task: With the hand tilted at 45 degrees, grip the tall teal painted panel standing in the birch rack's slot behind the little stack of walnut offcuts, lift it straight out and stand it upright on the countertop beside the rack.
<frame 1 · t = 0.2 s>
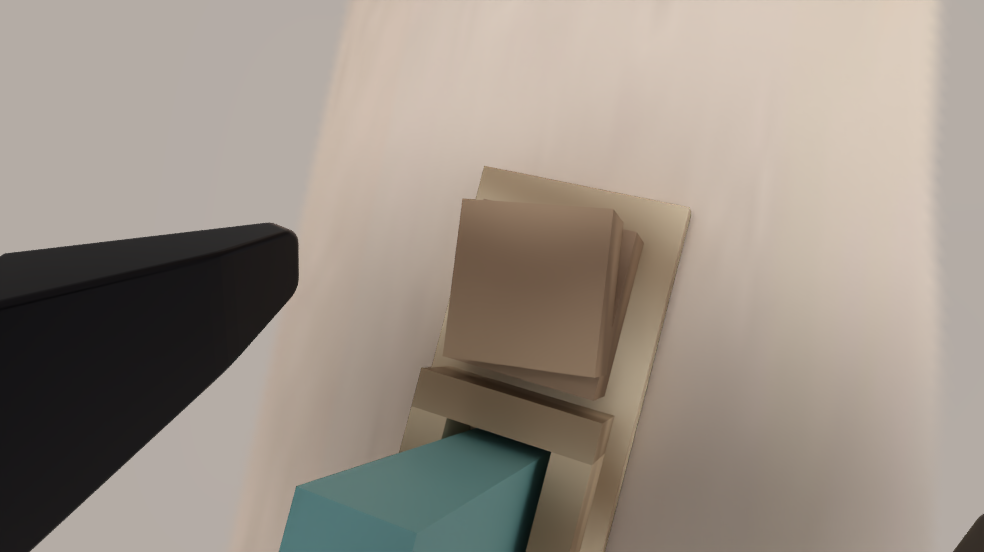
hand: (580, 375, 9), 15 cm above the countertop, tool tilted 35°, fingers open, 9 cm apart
teal panel: (497, 512, 23), point 1 cm above the countertop, touching rack
rack: (522, 448, 24), on the countertop
offcut stack: (552, 300, 23), point 1 cm above the countertop, touching rack
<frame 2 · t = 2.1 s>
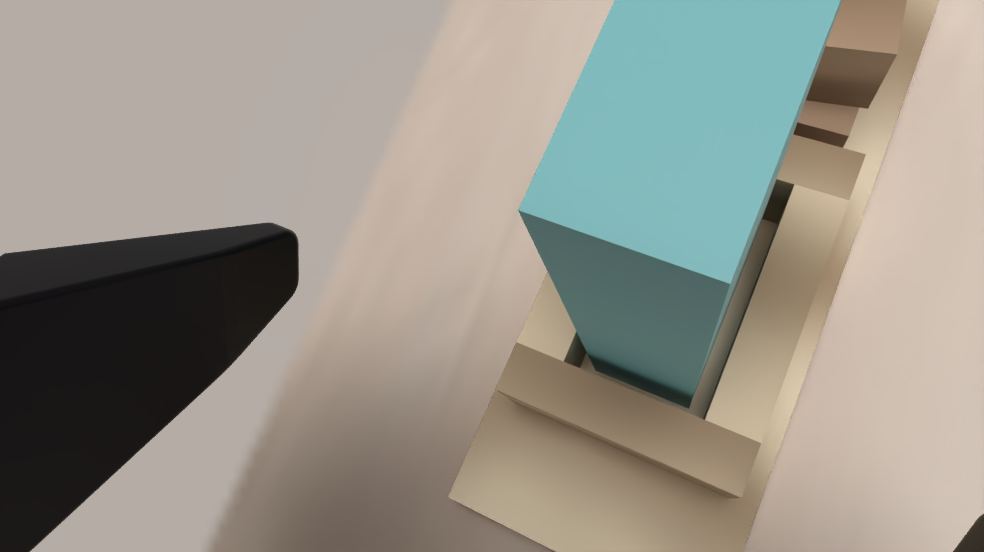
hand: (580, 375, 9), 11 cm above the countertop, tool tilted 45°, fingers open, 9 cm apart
teal panel: (676, 301, 19), point 1 cm above the countertop, touching rack
rack: (701, 248, 20), on the countertop
offcut stack: (768, 73, 20), point 1 cm above the countertop, touching rack
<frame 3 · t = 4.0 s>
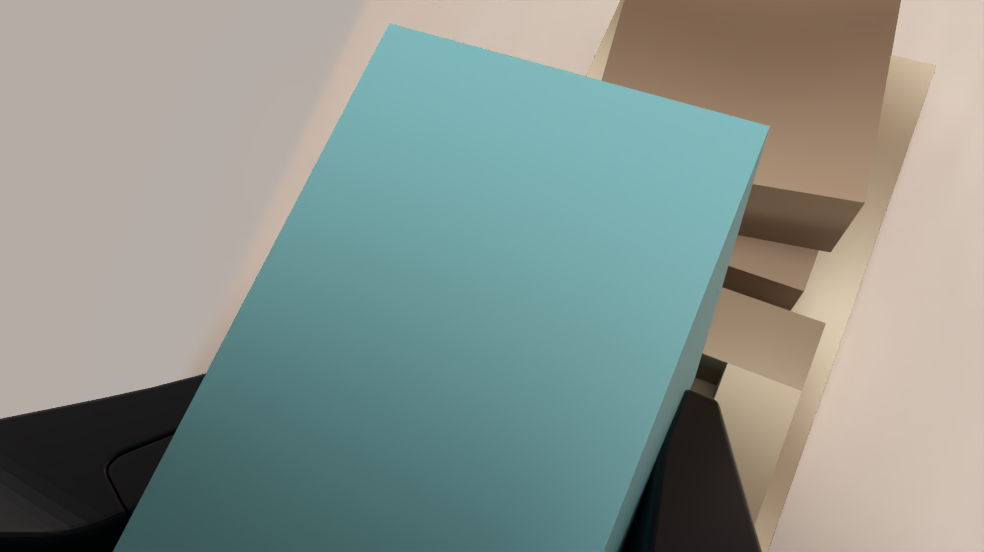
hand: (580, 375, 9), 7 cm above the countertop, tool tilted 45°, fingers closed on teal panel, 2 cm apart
teal panel: (583, 488, 14), point 1 cm above the countertop, touching gripper, rack
rack: (623, 402, 16), on the countertop
offcut stack: (708, 176, 15), point 1 cm above the countertop, touching rack
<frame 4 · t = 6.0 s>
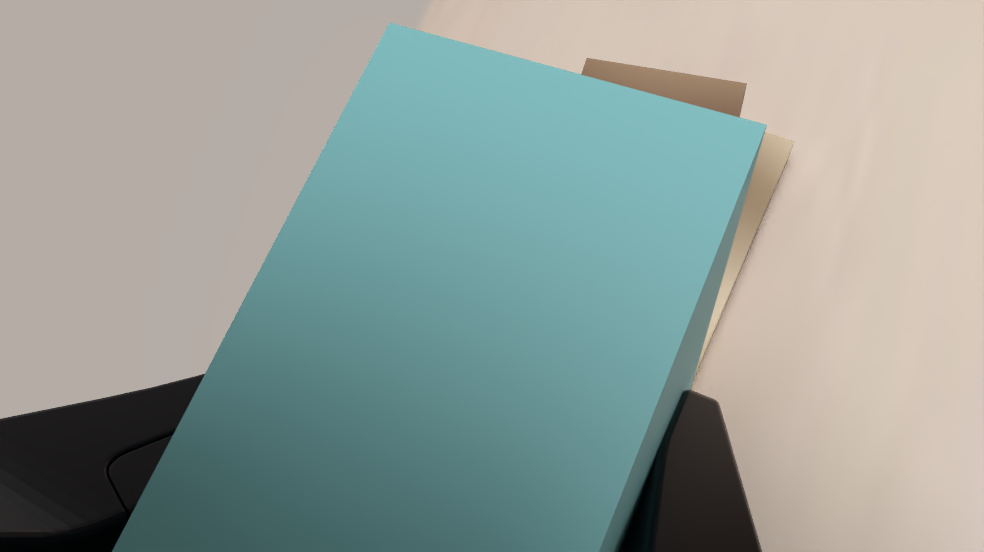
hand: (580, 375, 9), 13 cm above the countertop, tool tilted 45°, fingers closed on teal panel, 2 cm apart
teal panel: (582, 487, 14), point 8 cm above the countertop, touching gripper
rack: (572, 366, 23), on the countertop
offcut stack: (636, 212, 22), point 1 cm above the countertop, touching rack
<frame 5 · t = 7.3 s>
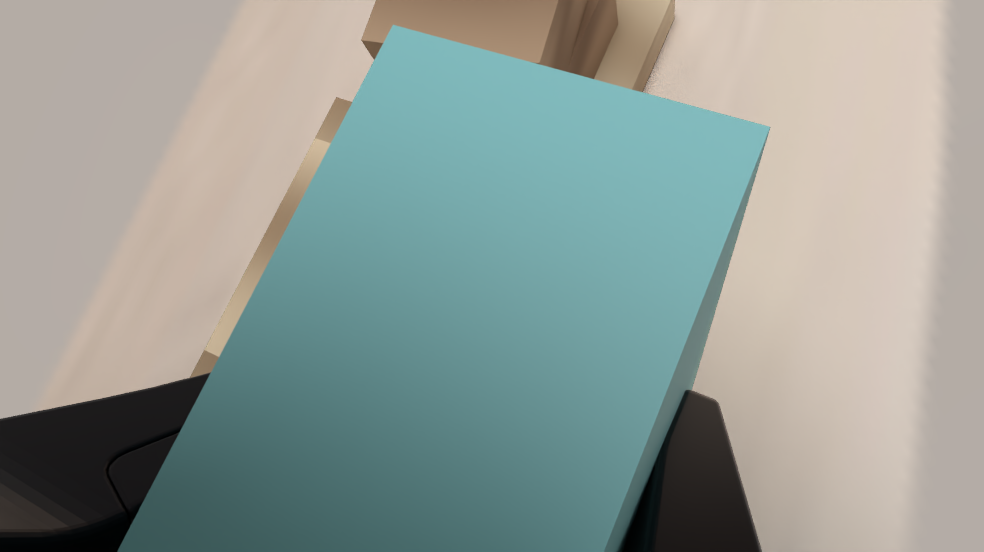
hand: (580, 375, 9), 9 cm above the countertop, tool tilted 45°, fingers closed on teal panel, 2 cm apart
teal panel: (583, 487, 14), point 4 cm above the countertop, touching gripper
rack: (441, 254, 20), on the countertop
offcut stack: (504, 78, 20), point 1 cm above the countertop, touching rack
when the fingers open (7 cm above the countertop, at t = 8.1 s): teal panel stays where it is, on the countertop.
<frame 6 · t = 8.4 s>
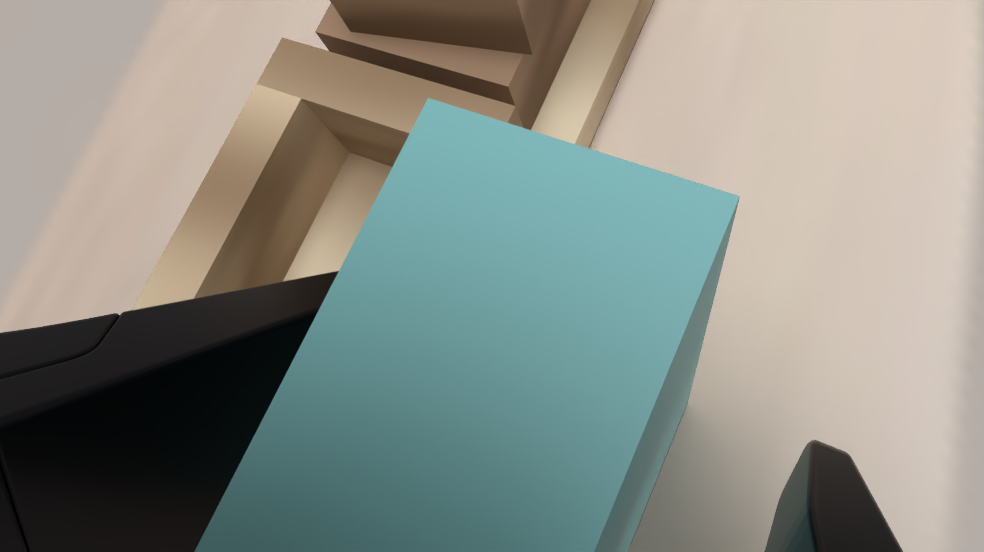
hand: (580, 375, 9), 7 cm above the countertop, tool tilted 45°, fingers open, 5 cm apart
teal panel: (586, 487, 15), on the countertop
rack: (407, 223, 18), on the countertop
offcut stack: (479, 24, 18), point 1 cm above the countertop, touching rack
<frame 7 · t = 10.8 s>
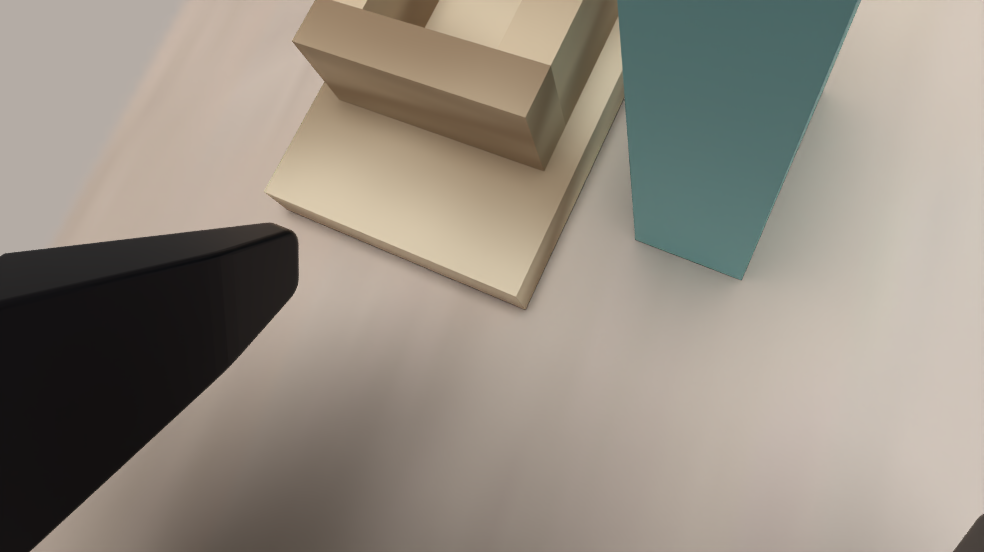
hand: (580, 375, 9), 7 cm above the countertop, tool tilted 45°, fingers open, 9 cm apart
teal panel: (729, 164, 17), on the countertop
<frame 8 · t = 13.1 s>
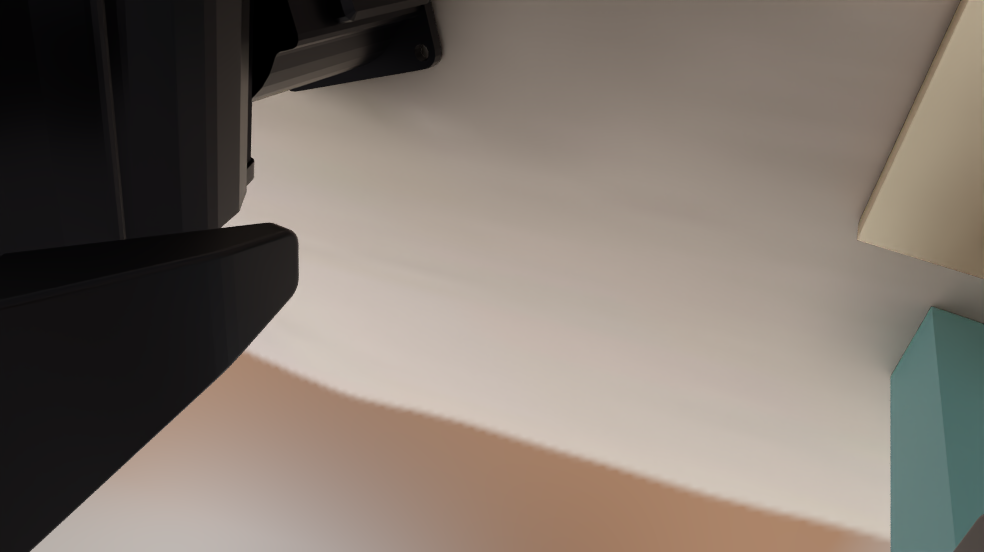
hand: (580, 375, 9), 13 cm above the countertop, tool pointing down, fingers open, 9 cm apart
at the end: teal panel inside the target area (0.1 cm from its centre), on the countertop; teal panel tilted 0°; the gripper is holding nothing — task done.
